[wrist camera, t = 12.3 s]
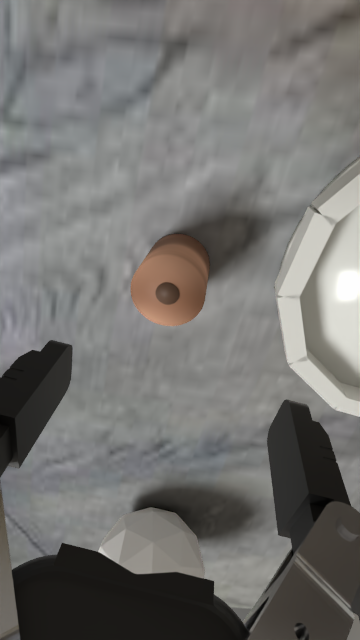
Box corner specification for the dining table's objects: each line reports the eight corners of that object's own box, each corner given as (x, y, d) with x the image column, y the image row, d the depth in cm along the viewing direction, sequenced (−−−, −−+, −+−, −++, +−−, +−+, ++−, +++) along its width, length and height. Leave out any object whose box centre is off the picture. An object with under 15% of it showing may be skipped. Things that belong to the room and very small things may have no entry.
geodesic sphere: (151, 505, 34) (71, 668, 28) (251, 562, 37) (196, 719, 31) (119, 477, 47) (60, 584, 41) (195, 520, 49) (149, 626, 44)
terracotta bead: (155, 225, 25) (137, 248, 21) (217, 244, 25) (214, 270, 21) (143, 283, 28) (124, 314, 23) (199, 299, 28) (193, 334, 23)
